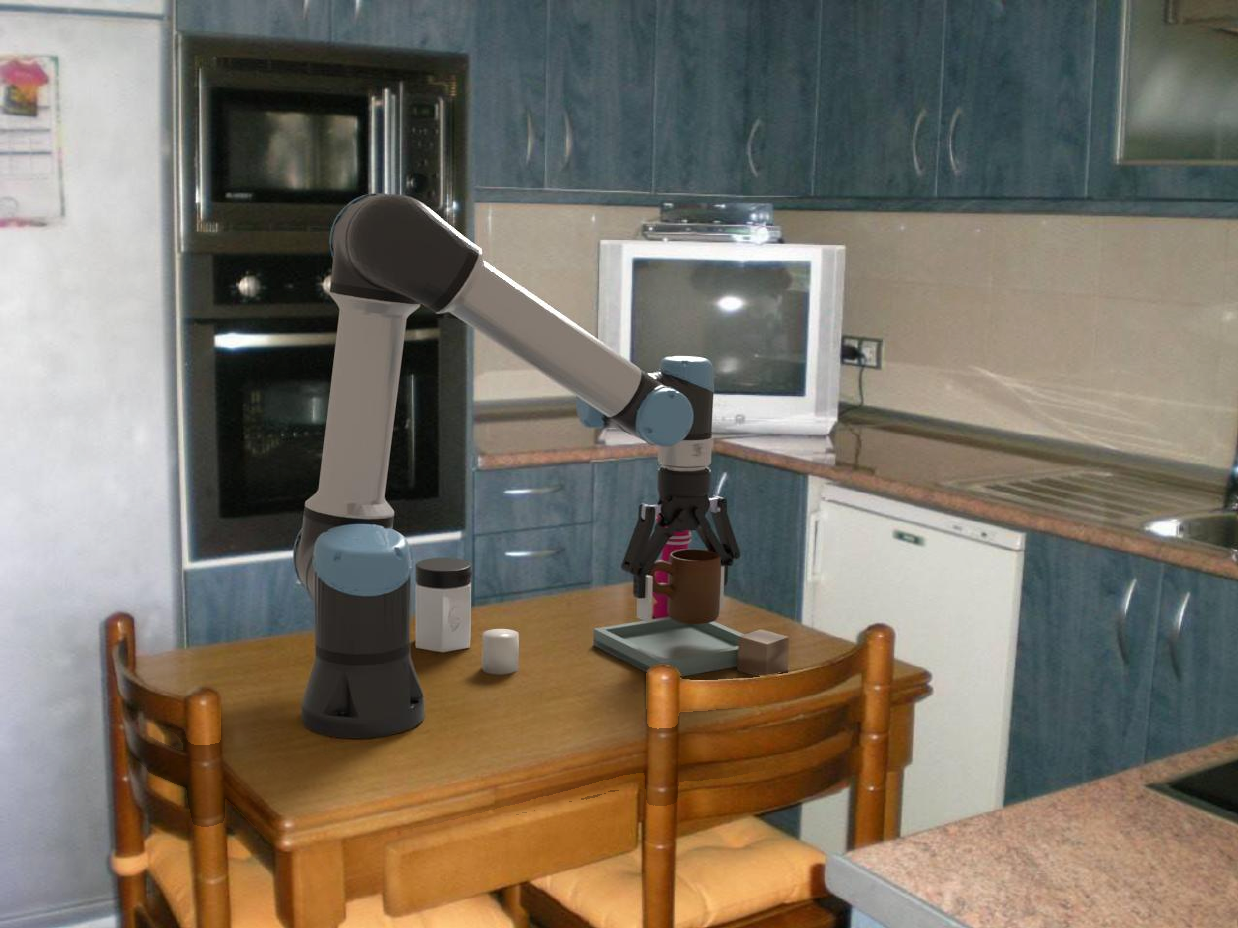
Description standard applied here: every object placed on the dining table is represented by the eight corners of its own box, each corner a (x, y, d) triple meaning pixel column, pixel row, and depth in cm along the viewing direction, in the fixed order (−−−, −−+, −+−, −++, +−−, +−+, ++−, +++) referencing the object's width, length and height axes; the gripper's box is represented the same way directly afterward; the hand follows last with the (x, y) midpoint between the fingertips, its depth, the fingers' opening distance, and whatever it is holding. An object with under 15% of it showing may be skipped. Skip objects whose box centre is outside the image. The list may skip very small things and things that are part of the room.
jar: (428, 655, 205) (429, 574, 203) (403, 641, 211) (403, 561, 209) (484, 646, 210) (484, 566, 208) (457, 632, 216) (457, 554, 214)
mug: (655, 631, 202) (657, 566, 200) (630, 617, 209) (632, 553, 207) (729, 621, 207) (731, 558, 206) (702, 608, 214) (704, 546, 212)
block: (765, 678, 199) (767, 644, 198) (737, 670, 202) (738, 636, 201) (787, 671, 202) (789, 636, 201) (759, 662, 206) (760, 629, 205)
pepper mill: (657, 607, 232) (660, 486, 228) (700, 612, 230) (705, 489, 226) (644, 619, 225) (647, 494, 222) (688, 624, 223) (692, 498, 219)
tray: (662, 680, 197) (662, 662, 196) (593, 644, 212) (593, 628, 211) (765, 660, 206) (766, 643, 206) (693, 628, 221) (693, 612, 221)
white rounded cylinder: (492, 676, 197) (492, 641, 196) (475, 666, 201) (476, 631, 200) (524, 671, 199) (525, 636, 198) (507, 661, 203) (508, 626, 203)
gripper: (627, 477, 195) (624, 631, 198) (768, 463, 207) (762, 608, 211) (598, 468, 201) (595, 618, 205) (736, 455, 214) (731, 596, 217)
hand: (680, 613), depth 208 cm, fingers closed on mug, 12 cm apart
